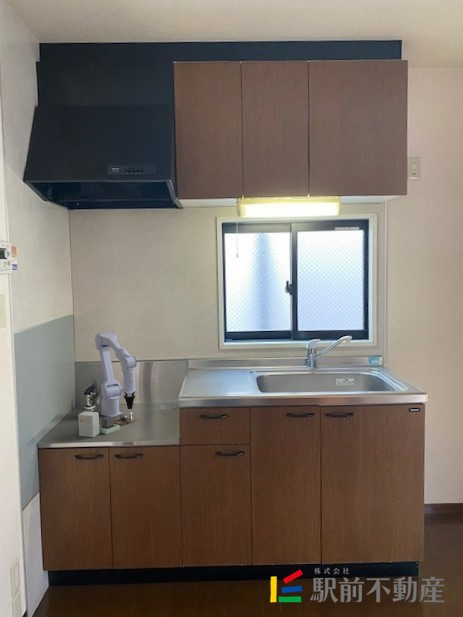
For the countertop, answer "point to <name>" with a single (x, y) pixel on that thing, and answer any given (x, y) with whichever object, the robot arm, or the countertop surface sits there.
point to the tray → (110, 430)
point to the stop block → (107, 422)
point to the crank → (127, 416)
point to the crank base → (123, 421)
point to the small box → (88, 424)
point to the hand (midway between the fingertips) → (130, 406)
